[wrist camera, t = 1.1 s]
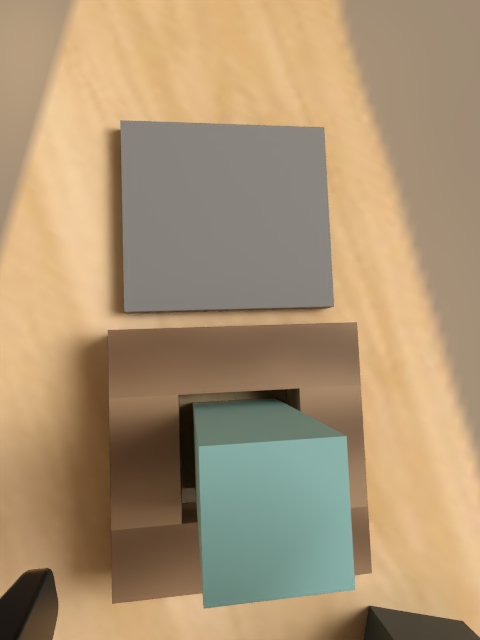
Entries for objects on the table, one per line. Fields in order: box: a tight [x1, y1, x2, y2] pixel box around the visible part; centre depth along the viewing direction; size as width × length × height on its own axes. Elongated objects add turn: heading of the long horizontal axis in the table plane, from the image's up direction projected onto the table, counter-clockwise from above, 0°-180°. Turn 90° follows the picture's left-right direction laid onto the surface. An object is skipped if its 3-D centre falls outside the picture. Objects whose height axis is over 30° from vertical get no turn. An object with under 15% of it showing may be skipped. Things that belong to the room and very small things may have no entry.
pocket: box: [108, 322, 372, 604], centre depth 20 cm, size 12×12×2 cm
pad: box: [120, 120, 334, 313], centre depth 22 cm, size 10×11×1 cm
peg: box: [193, 398, 355, 608], centre depth 17 cm, size 4×4×10 cm
